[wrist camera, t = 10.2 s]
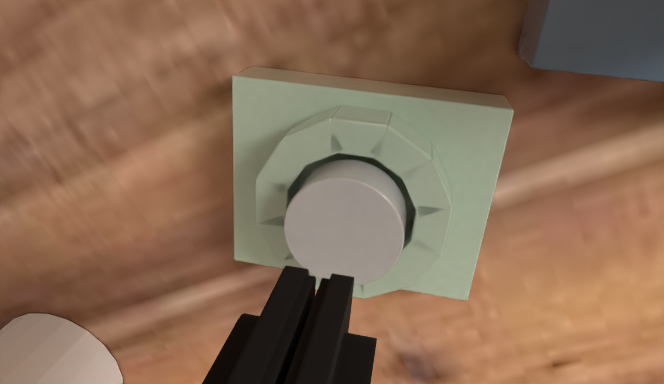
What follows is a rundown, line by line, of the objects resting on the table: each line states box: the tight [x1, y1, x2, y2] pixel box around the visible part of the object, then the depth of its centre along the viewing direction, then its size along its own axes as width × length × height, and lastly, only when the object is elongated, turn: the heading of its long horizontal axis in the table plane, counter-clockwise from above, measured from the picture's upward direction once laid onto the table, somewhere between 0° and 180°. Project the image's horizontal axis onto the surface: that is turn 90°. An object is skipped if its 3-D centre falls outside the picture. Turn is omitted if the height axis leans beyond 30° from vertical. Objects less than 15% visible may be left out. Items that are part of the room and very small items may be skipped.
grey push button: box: [283, 159, 407, 285], centre depth 16 cm, size 4×4×2 cm
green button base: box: [232, 66, 514, 301], centre depth 18 cm, size 10×8×4 cm
